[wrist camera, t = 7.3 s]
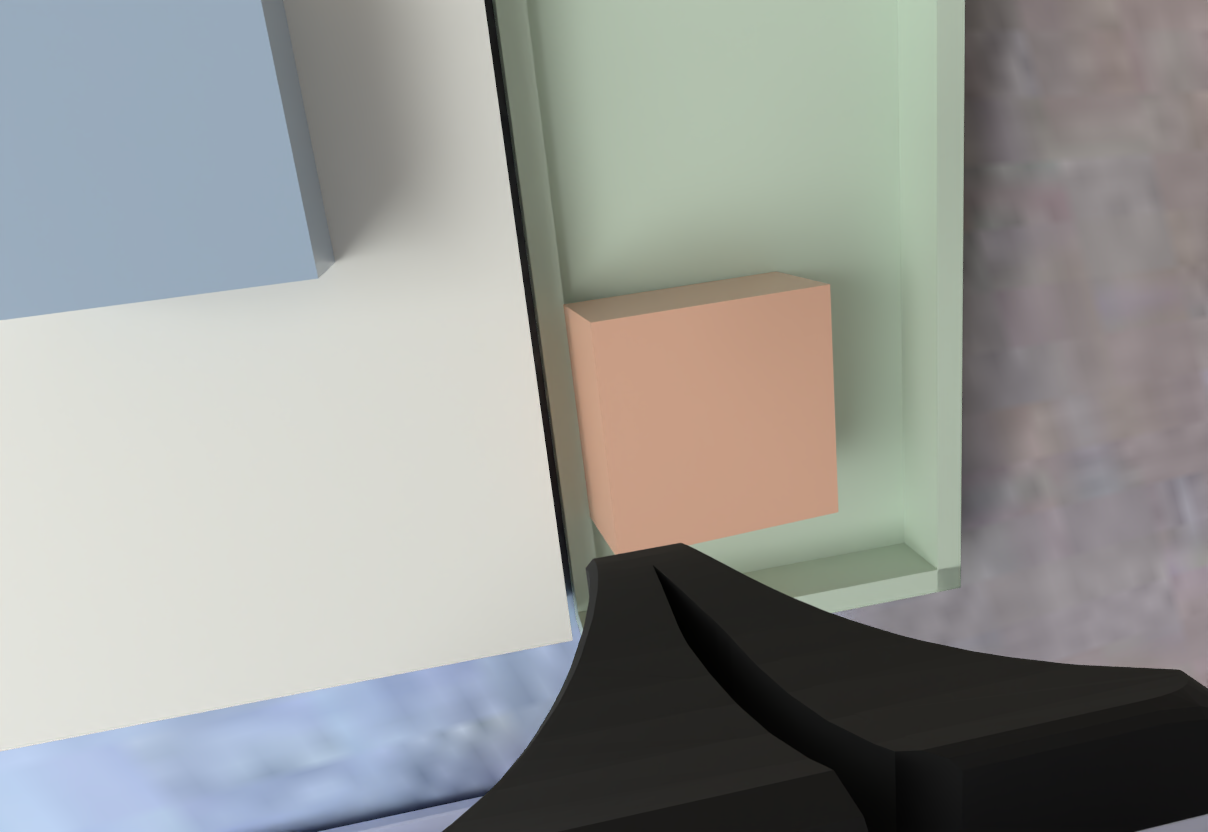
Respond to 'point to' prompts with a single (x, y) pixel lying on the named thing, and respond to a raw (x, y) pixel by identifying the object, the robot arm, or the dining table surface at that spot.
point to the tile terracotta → (705, 408)
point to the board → (294, 428)
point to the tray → (764, 237)
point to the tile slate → (151, 153)
